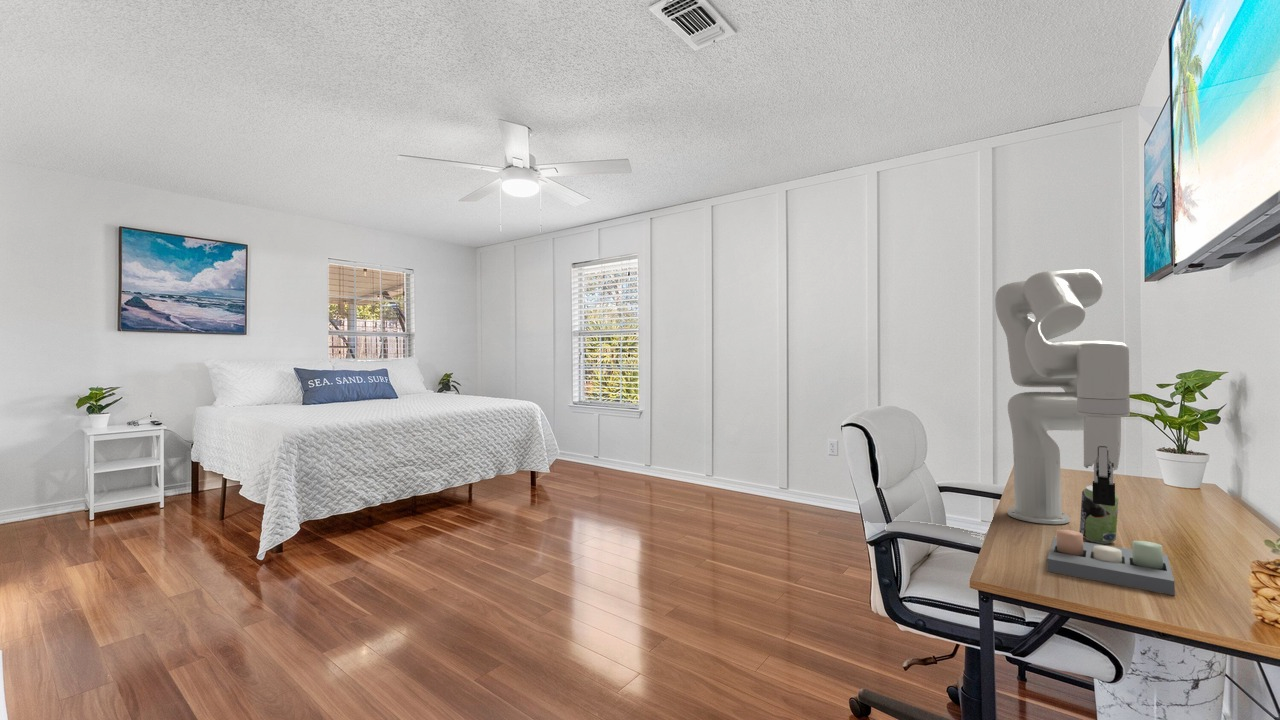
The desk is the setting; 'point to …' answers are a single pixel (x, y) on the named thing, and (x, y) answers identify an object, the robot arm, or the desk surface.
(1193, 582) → the desk surface
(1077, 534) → the terracotta button
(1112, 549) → the cream button
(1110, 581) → the panel
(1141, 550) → the sage button
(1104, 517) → the beverage can
